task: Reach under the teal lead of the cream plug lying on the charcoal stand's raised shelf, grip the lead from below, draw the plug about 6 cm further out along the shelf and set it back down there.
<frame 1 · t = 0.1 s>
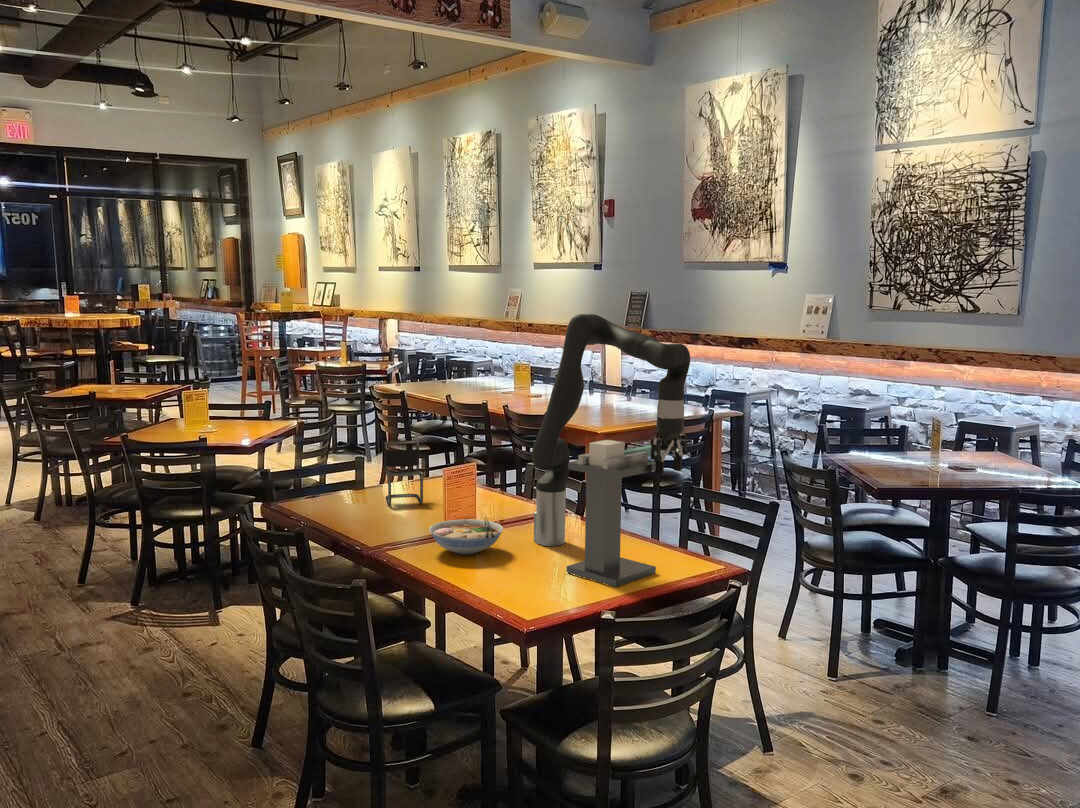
hand: (668, 472, 258), 29 cm above the table, tool pointing down, fingers open, 8 cm apart
chair: (403, 502, 347), on the table
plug: (624, 460, 260), point 32 cm above the table, touching stand
ramen bowl: (466, 552, 281), on the table
stand: (611, 573, 261), on the table
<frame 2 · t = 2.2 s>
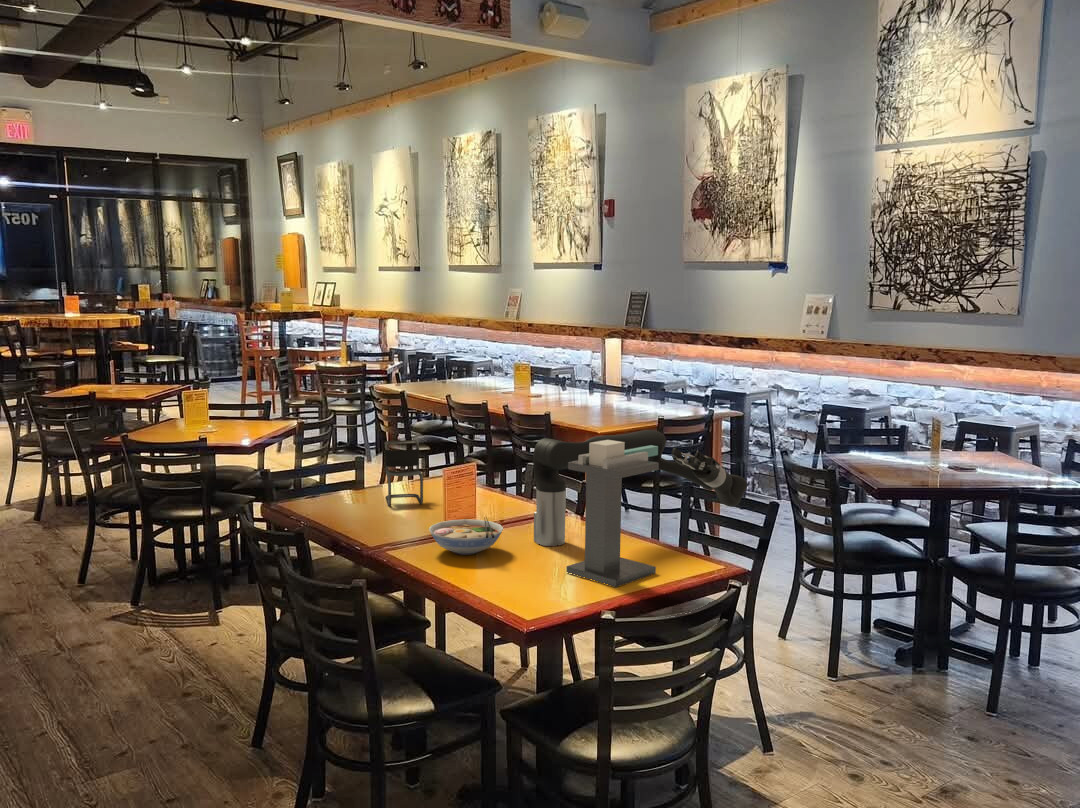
hand: (684, 452, 282), 31 cm above the table, tool pointing upward, fingers open, 8 cm apart
nothing on the table moved.
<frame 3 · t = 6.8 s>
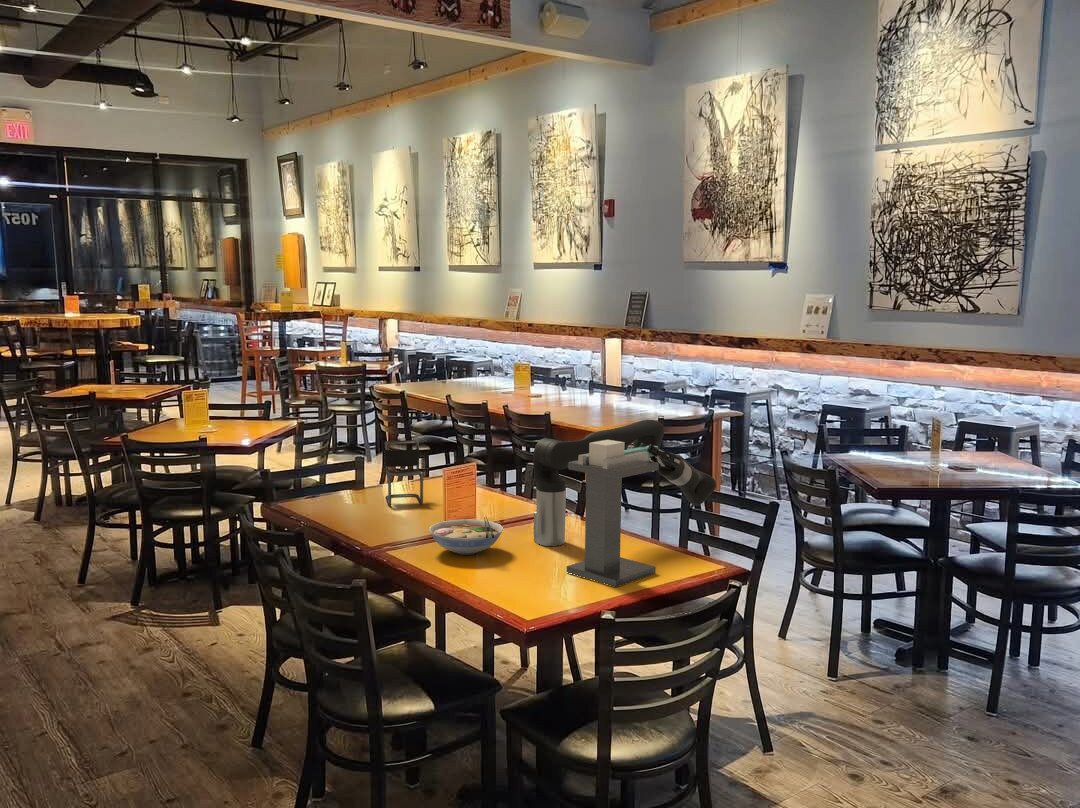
hand: (645, 447, 267), 35 cm above the table, tool pointing upward, fingers closed on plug, 2 cm apart
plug: (624, 460, 260), point 32 cm above the table, touching gripper, stand
everything else where it was.
when the fingers open (35 cm above the table, at t = 10.4 s): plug stays where it is, resting on stand.
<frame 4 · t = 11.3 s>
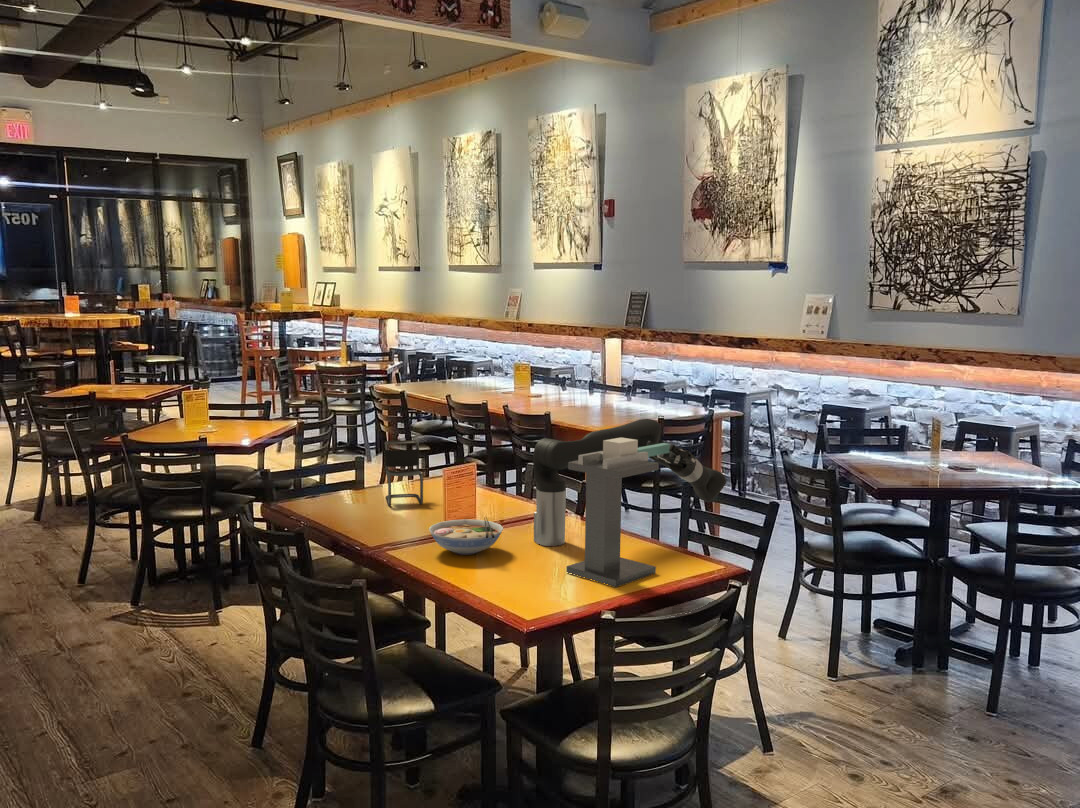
hand: (659, 445, 272), 34 cm above the table, tool pointing upward, fingers open, 8 cm apart
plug: (637, 457, 265), point 32 cm above the table, touching stand
everything else where it was.
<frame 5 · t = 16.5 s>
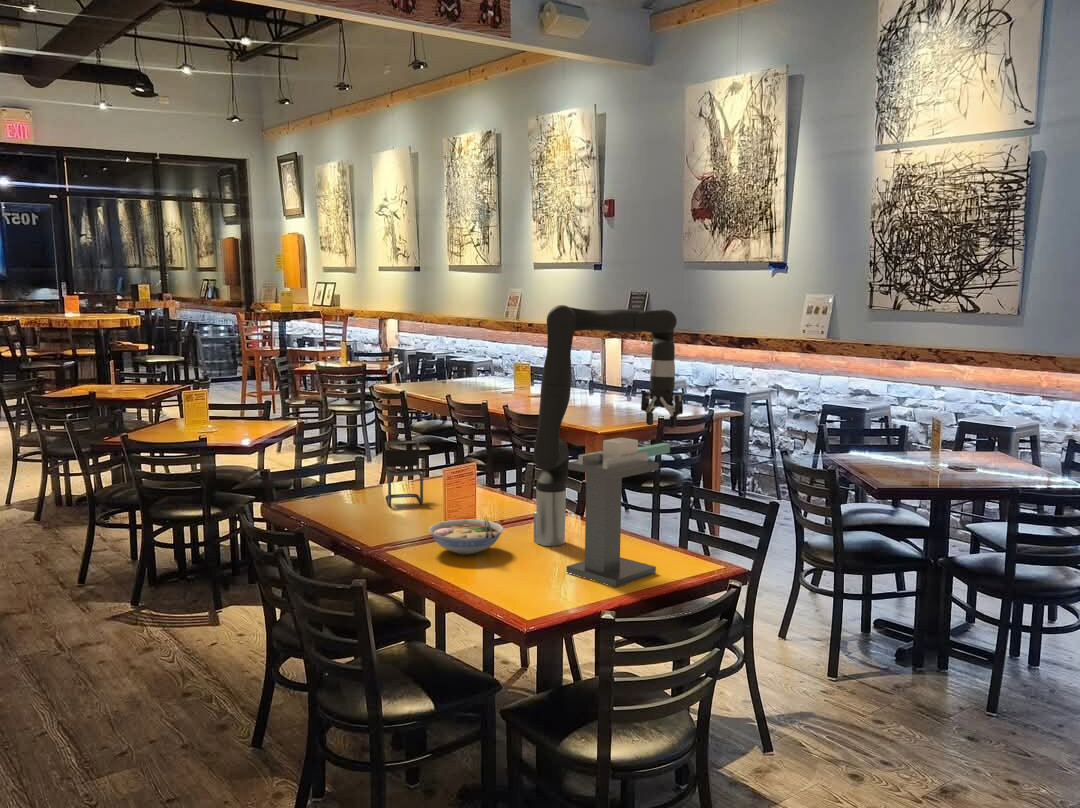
hand: (661, 426, 285), 38 cm above the table, tool pointing down, fingers open, 8 cm apart
nothing on the table moved.
at the end: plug inside the target area (0.3 cm from its centre), point 32.0 cm above the table; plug touching stand; the gripper is holding nothing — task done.
